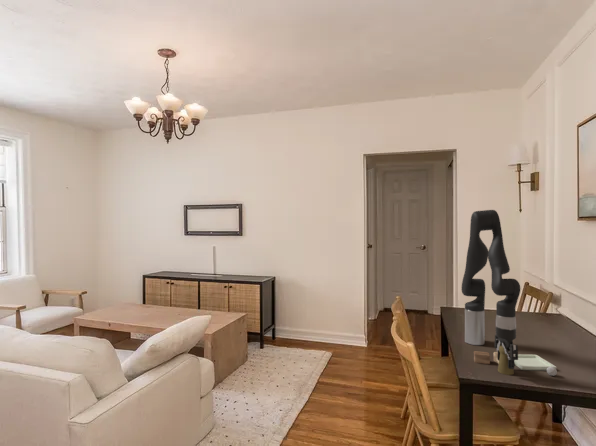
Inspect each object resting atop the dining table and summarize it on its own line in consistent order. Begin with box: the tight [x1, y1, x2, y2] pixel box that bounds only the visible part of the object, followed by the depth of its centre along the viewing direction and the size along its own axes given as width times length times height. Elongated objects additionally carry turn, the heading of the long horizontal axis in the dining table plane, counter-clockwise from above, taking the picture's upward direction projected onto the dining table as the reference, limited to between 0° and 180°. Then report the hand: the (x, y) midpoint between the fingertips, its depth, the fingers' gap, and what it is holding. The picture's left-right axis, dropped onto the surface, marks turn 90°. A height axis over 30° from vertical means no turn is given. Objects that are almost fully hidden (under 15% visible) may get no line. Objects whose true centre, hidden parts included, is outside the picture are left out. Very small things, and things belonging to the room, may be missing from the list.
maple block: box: [493, 351, 499, 365], centre depth 167 cm, size 4×4×4 cm
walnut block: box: [473, 350, 491, 365], centre depth 167 cm, size 4×6×4 cm, turn 71°
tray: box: [514, 353, 557, 371], centre depth 164 cm, size 14×14×2 cm
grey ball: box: [546, 367, 558, 377], centre depth 152 cm, size 4×4×4 cm
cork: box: [497, 345, 515, 376], centre depth 156 cm, size 6×6×11 cm
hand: (505, 364), depth 156 cm, fingers open, 8 cm apart
